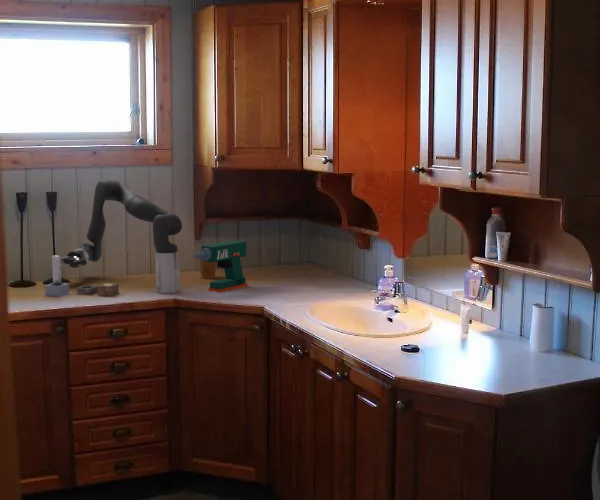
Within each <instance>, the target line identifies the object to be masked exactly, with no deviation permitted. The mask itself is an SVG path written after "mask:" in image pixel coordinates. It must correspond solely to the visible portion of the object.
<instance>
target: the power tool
mask: <svg viewBox="0 0 600 500" xmlns="http://www.w3.org/2000/svg"><path fill="white" fill-rule="evenodd" d="M243 257H247V241H246V240H230V241H229V240H228V241H223V242H217V243H211V244H210V243H209V244H205V245H204V244H203V245H201V246H200V250H199V251H198V253H195V254H193V255H192V256H191V258H195V259H199V258H200V259H201V260H202V261H206V262H217V263H216V268H219V269H223V270H224V274H225V278H222V279H219V280H212V281H210V282H209V287H208V288H207V291H208V290H209V291H208V292H213V291H215V293H223V292H222V291H224V292H227V291H226V290H228V291H232V290H236V289H235V288H237V289H240V288H239V287H241V288H244V287H243V286H245V287H248V283H247V279H246V278H247V277H244V273H243V267H242V262H241V258H243ZM231 289H232V290H231Z"/></svg>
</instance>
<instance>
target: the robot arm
mask: <svg viewBox="0 0 600 500" xmlns="http://www.w3.org/2000/svg"><path fill="white" fill-rule="evenodd" d="M94 189H95V190H94V195H93V205H92V212H91V220H90V223H89V227H88V230H87V233H86V239H87V240H88V241H90V243H92V244H90V243H88V242H82V243H81V244H80V245H79V247H78V248H77V249H74V250H71V251H69V252H68V253H67V254H66V256H63V257H61V256H60V266H62V267H63V266H64V267H65V266H68V267H71V268H73V269H77V268H79V267H81V266H83V267H84V266H86V265H88V264H89V262H90V261H91V262H93V263H95V262H98V261H99V260H100V259H101V258H102V254H103V252H102V251H103V250H102V249H103V248H102V245H103V243H102V242H103V237H104V233H105V231H106V225H107V224H106V218H105V215H104V214H105V213H104V204H105V203H106V201H113V202H114V201H115V202H119V203H120V204H122V205H123V206H124V210H125V211H126V212H127V213H128V214H129V215H131V216H132V217H134V218H135V219H138V220H141V221H143V222H148V223H152V235H153V244H154V245H153V246H154V249H155V274H156V275H155V278H156V279H155V280H156V283H155V284H156V293H159V294H176V293H178V292H180V291H181V270H180V268H179V265H178V264H179V262H178V261H179V259H178V257H179V256H178V255H179V254H178V252H179V250H178V245H177V244H175V243H173V242H171V241H170V239H169V237H170V236H175V235H177V234H179V233H180V232H181V231H182V227H183V224H182V223H183V222H182V221H181V218H180V217H179V216H178V215H176V214H175V213H174V212H173V213H172V212H170V211H168V210H165V209H163V208H161V207H160V206H158V205H156V204H154V203H153V202H151V201H149V200H148V199H146V198H145V197H143V196H141V195H139V194H137V193H135V192H133V191H132V190H130V189H129V188H127V187H126V186H125V185H124V184H123V183H121V182H120V181H117V180H115V179H113V180H112V179H101V180H99V181H98V182H97V183H96V185H95V188H94Z"/></svg>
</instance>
